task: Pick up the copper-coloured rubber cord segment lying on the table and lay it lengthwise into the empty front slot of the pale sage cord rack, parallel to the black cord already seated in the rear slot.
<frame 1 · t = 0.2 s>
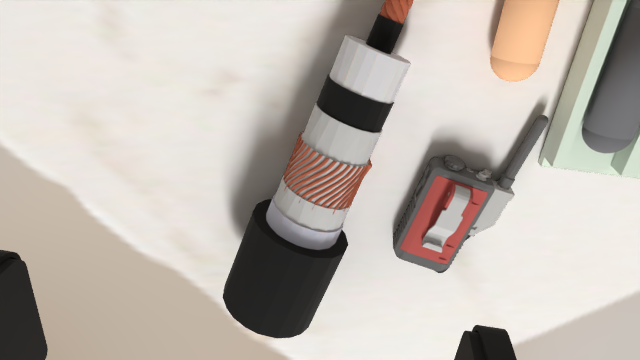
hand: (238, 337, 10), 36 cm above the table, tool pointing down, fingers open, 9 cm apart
black cord: (631, 73, 37), point 3 cm above the table, touching rack
walkie-talkie: (460, 186, 48), on the table
cable: (330, 150, 47), on the table
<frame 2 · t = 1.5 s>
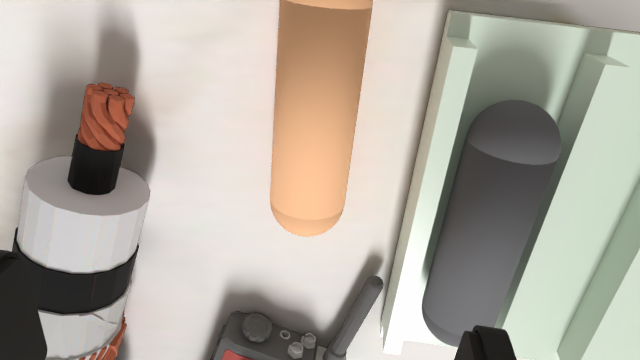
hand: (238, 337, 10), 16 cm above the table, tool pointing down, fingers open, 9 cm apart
copper cord: (315, 110, 22), point 2 cm above the table
black cord: (482, 235, 23), point 3 cm above the table, touching rack
walkie-talkie: (280, 346, 33), on the table
cable: (96, 294, 33), on the table
rack: (570, 218, 25), on the table
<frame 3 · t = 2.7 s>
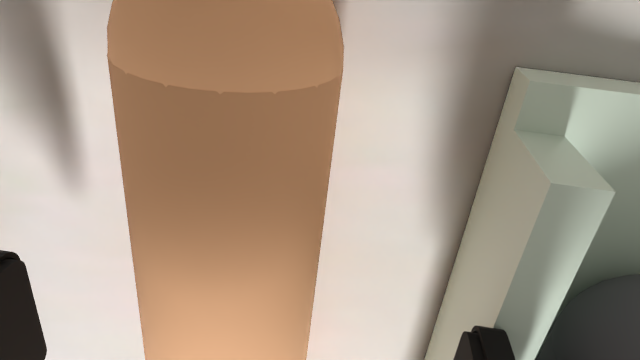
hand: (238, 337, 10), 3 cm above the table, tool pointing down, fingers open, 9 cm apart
copper cord: (229, 272, 11), point 2 cm above the table
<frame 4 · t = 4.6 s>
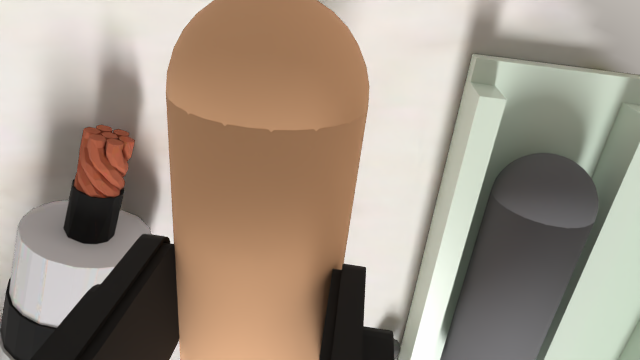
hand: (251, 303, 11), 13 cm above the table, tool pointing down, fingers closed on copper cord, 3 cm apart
copper cord: (259, 285, 12), point 12 cm above the table, touching gripper
black cord: (507, 296, 21), point 3 cm above the table, touching rack
cable: (97, 341, 31), on the table
rack: (603, 276, 23), on the table
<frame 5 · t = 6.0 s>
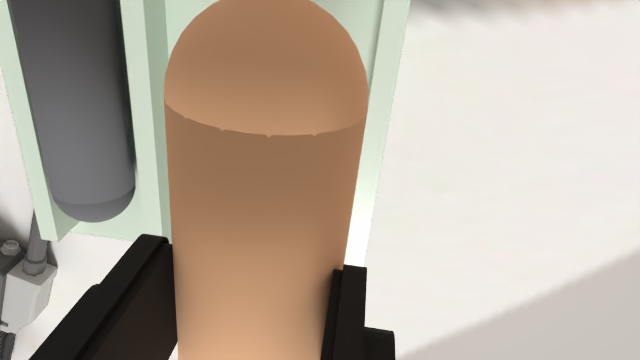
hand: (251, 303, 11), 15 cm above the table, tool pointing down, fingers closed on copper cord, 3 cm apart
copper cord: (258, 289, 11), point 14 cm above the table, touching gripper
black cord: (79, 91, 22), point 3 cm above the table, touching rack
rack: (213, 87, 24), on the table
when the fingers open (4 cm above the table, at t = 7.6 s): copper cord stays where it is, resting on rack.
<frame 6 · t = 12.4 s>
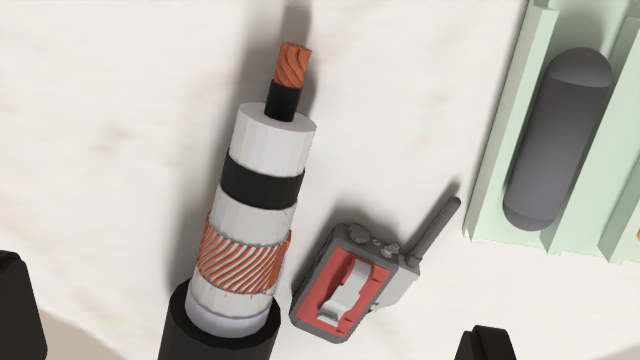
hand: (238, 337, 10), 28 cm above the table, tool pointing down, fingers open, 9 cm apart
black cord: (551, 146, 33), point 3 cm above the table, touching rack
walkie-talkie: (367, 255, 44), on the table
cable: (256, 218, 43), on the table
rack: (610, 140, 35), on the table
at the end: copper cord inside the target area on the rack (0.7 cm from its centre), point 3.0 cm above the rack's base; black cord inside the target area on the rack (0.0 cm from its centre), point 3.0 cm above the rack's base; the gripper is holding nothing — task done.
